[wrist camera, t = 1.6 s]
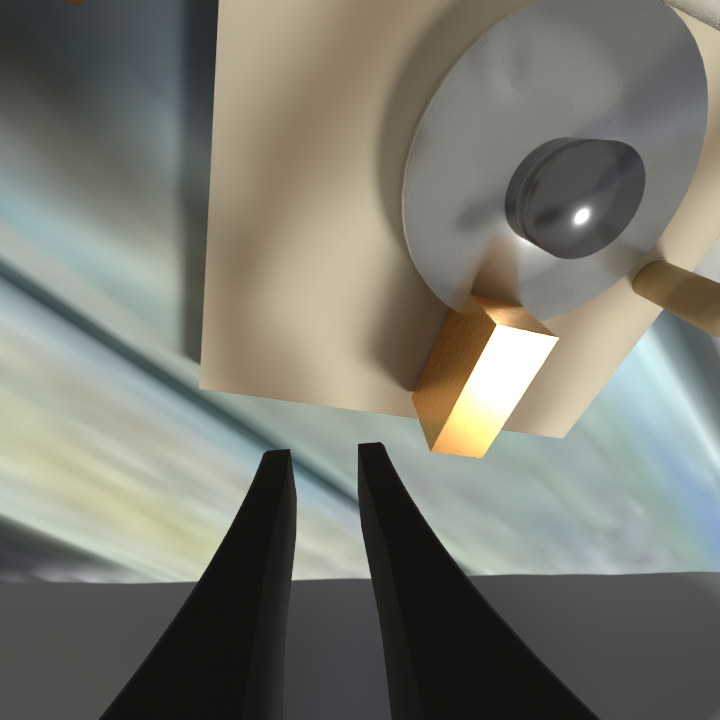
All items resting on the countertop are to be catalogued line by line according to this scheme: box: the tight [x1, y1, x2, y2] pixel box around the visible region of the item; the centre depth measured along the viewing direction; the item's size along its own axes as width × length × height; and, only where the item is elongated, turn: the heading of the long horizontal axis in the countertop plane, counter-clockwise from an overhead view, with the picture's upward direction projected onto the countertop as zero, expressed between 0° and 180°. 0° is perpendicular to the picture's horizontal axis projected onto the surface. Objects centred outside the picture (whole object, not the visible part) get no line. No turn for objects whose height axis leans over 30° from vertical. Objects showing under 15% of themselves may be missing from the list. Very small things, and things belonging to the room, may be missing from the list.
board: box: [199, 0, 720, 438], centre depth 14 cm, size 20×17×5 cm
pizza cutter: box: [399, 0, 708, 458], centre depth 13 cm, size 15×10×4 cm, turn 165°
